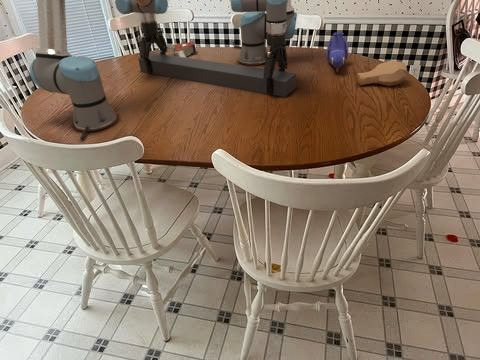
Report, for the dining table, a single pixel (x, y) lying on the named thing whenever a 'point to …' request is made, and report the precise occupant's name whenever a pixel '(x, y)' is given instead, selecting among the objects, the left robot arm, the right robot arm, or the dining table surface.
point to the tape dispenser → (183, 49)
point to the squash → (384, 74)
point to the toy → (337, 50)
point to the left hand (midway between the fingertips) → (157, 68)
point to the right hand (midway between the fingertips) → (275, 88)
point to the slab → (220, 73)
